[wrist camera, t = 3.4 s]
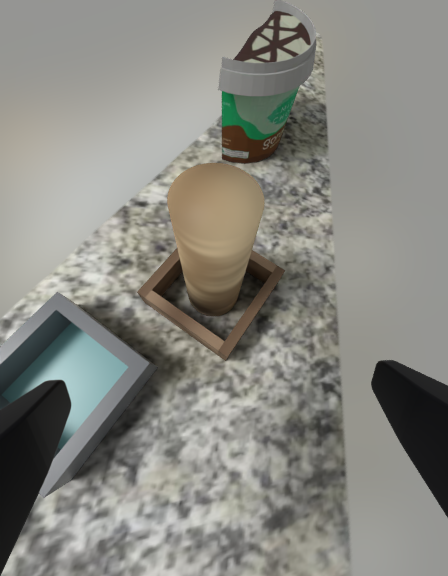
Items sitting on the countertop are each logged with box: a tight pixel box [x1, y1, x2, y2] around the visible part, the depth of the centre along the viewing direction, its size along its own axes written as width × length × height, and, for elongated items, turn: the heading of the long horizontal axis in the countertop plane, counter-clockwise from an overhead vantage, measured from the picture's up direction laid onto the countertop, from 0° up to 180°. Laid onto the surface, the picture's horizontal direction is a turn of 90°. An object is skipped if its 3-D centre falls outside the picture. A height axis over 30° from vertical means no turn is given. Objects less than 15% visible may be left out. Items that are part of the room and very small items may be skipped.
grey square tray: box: [0, 292, 158, 498], centre depth 18 cm, size 9×9×3 cm
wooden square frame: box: [137, 248, 285, 361], centre depth 22 cm, size 9×9×2 cm
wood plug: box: [167, 163, 264, 316], centre depth 17 cm, size 4×4×12 cm
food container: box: [218, 0, 316, 164], centre depth 26 cm, size 12×6×10 cm, turn 154°
